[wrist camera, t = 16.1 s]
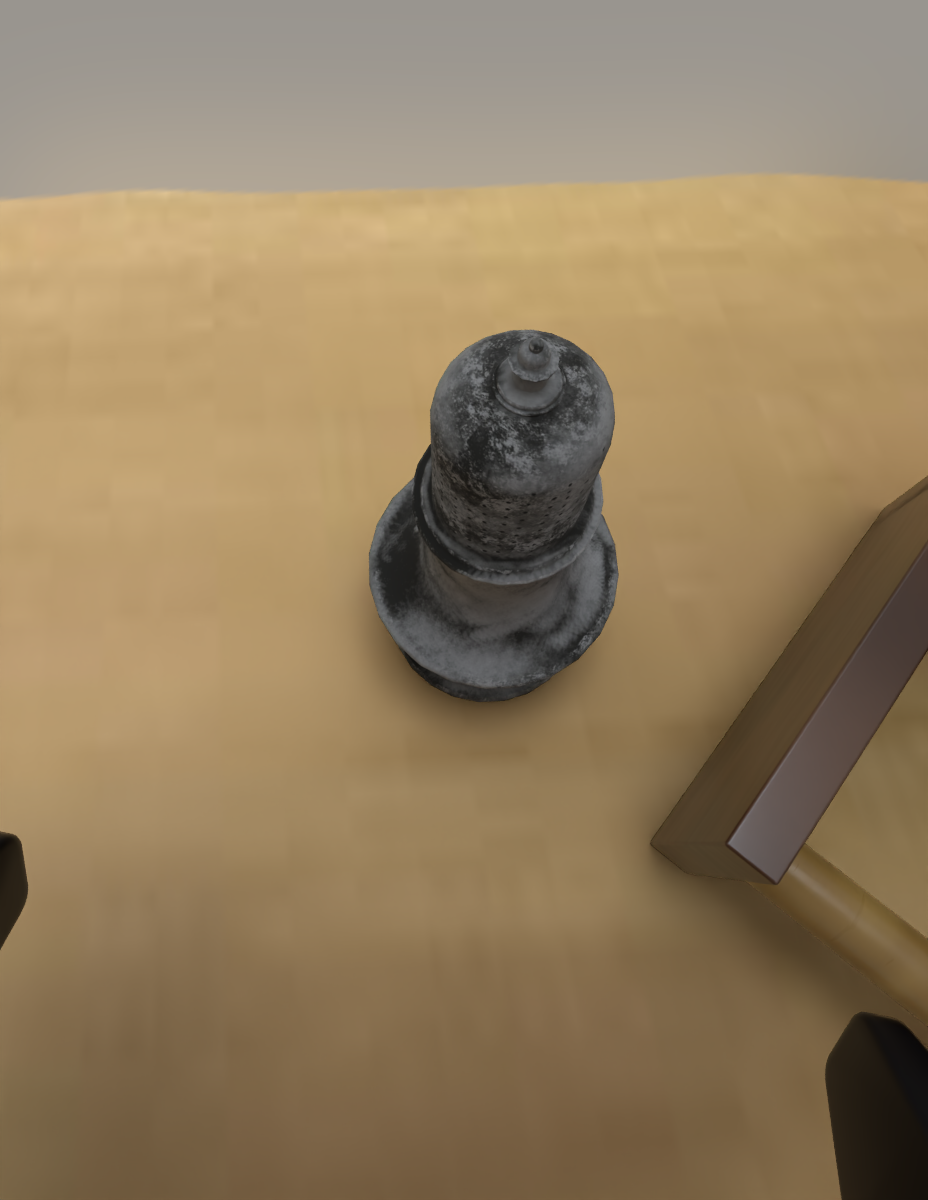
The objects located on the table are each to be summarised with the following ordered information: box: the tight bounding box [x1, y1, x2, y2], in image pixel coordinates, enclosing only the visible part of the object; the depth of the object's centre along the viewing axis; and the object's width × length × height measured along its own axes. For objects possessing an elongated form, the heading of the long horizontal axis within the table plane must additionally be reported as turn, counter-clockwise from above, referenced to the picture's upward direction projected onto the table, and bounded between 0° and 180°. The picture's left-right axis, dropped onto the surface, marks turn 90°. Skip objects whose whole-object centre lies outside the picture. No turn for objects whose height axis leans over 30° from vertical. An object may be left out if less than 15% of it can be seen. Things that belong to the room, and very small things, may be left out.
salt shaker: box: [369, 330, 618, 702], centre depth 16 cm, size 6×6×12 cm
